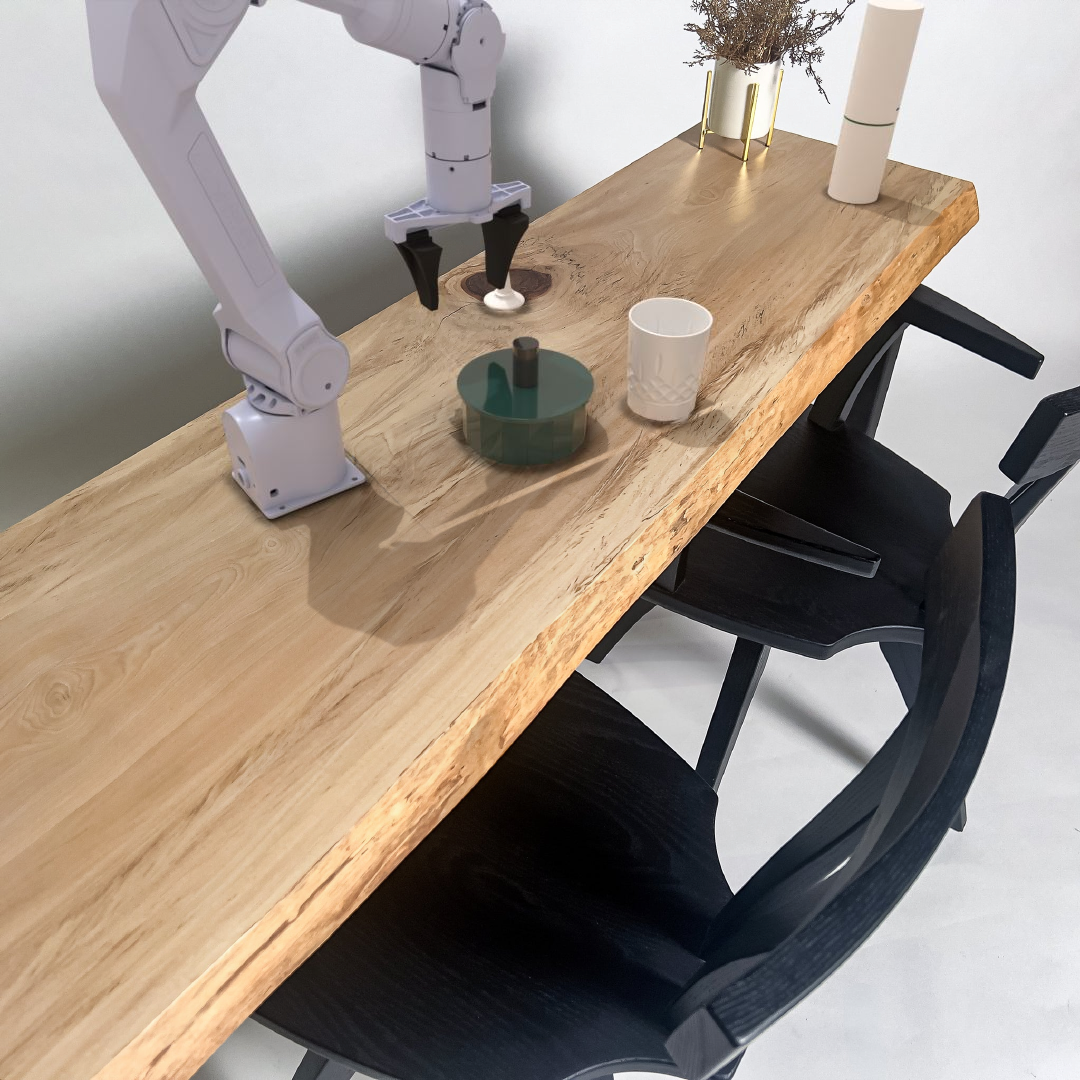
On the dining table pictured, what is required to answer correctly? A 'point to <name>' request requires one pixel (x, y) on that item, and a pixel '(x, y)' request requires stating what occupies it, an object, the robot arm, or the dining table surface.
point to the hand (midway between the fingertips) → (463, 295)
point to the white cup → (666, 357)
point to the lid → (525, 384)
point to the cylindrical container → (874, 98)
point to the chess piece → (504, 298)
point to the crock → (524, 438)
